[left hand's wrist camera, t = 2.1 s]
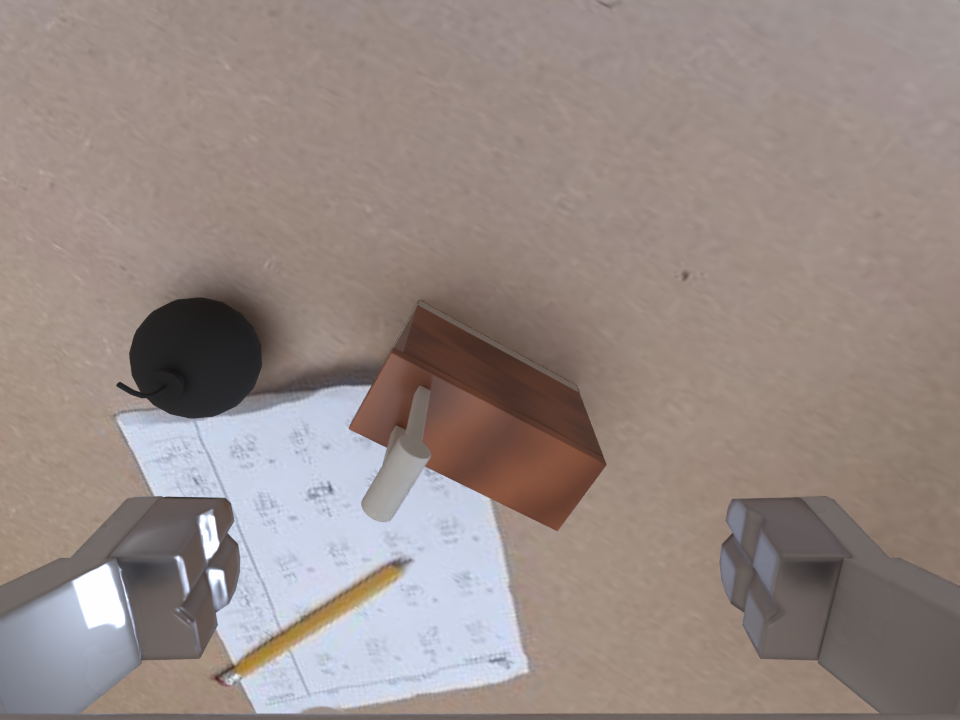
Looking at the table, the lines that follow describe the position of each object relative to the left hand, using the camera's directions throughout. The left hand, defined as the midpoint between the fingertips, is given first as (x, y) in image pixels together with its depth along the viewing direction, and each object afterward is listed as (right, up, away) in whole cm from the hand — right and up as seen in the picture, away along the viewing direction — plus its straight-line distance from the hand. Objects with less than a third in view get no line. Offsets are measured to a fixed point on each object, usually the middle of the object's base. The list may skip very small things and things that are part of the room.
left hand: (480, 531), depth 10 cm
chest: (0, +2, +36) cm, 36 cm away
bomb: (-18, +4, +35) cm, 40 cm away
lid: (0, -2, +26) cm, 26 cm away
